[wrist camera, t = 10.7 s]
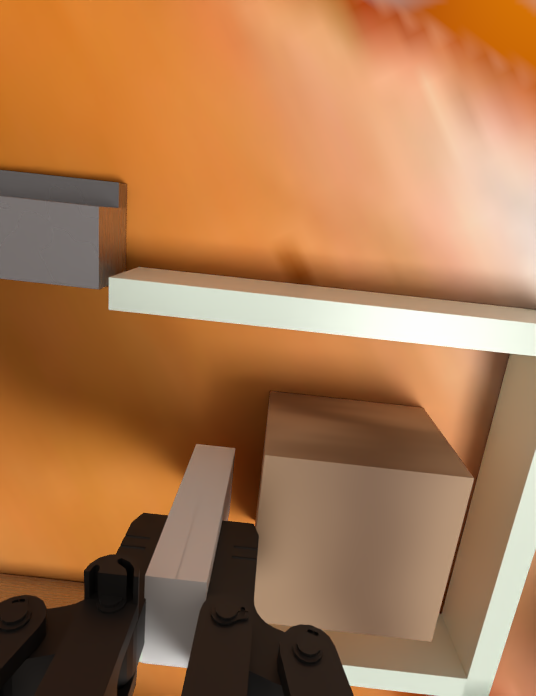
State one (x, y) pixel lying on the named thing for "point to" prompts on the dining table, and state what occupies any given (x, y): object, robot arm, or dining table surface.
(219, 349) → the dining table surface
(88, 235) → the slot rails
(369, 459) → the block
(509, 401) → the pale green u-shaped frame
